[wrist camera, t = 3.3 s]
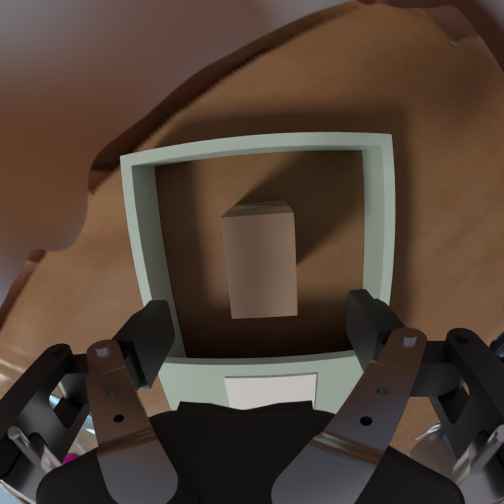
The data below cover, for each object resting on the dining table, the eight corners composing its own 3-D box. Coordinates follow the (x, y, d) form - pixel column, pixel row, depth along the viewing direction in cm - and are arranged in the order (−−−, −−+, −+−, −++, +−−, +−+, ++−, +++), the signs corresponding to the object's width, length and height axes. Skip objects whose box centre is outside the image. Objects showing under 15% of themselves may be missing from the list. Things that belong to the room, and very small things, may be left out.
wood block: (284, 199, 25) (293, 212, 17) (288, 271, 27) (297, 315, 19) (236, 203, 26) (220, 217, 17) (243, 274, 28) (232, 318, 19)
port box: (370, 140, 23) (397, 132, 17) (352, 410, 32) (362, 442, 26) (144, 158, 25) (112, 155, 19) (196, 416, 34) (187, 449, 28)
